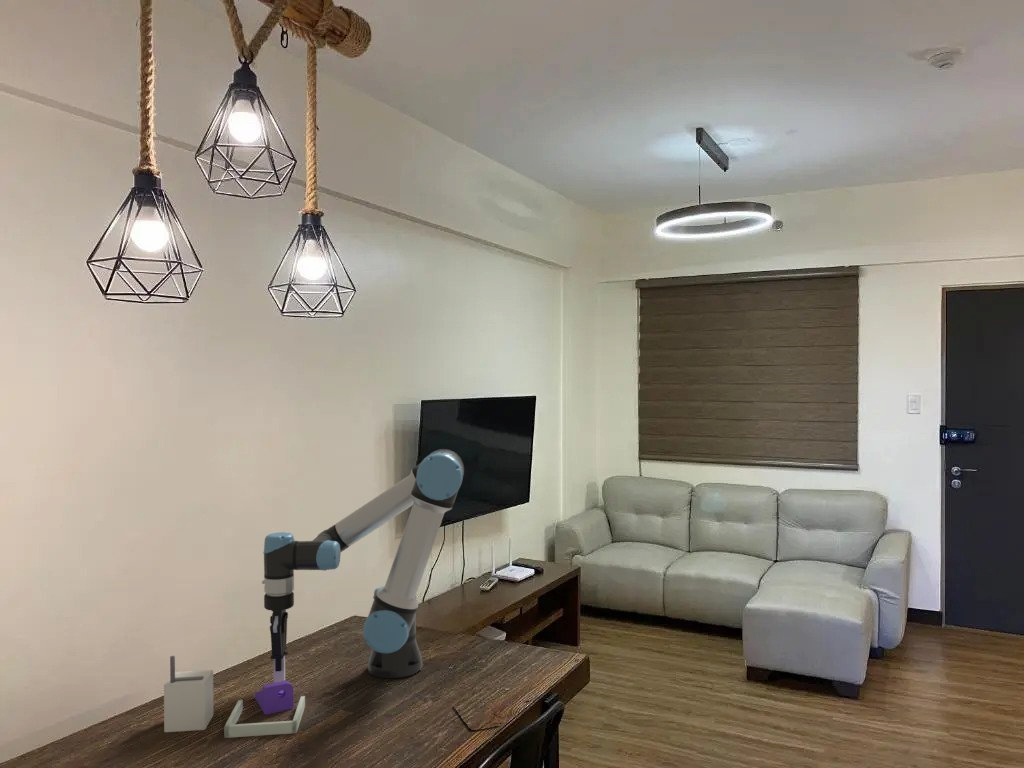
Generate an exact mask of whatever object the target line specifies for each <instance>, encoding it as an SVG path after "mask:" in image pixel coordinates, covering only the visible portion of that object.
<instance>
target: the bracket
mask: <svg viewBox="0 0 1024 768" xmlns="http://www.w3.org/2000/svg"><path fill="white" fill-rule="evenodd" d="M254 699H255V701H256V702H257V703H258V706H259V707H260V709H261V710H262V712H263V714H264V715H269V714H273V713H275V714H276V713H279V712H284V711H288V710H293V709H294V687H293V685H292V684H291V682H290V681H288V680H285V681H281V682H276V683H274V682H272V683H267V684H263V685H262V689H261V690H258V691H255V692H254Z"/></svg>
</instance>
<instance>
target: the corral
mask: <svg viewBox="0 0 1024 768" xmlns="http://www.w3.org/2000/svg"><path fill="white" fill-rule="evenodd" d="M243 702H244V700H243V699H238V700H237V702H236V704H235V706H234V708H233V710H232V711H231V714H230V716H229V717H228V719H227V721H226V723H225V724H224V726H223V727H224V729H223V731H224V734H223V735H224V737H223V738H224V739H227V738H228V739H230V738H241V737H243V738H244V737H258V736H259V737H260V736H272V735H288V734H297V733H298V730H299V726H300V724H301V720H302V717H303V714H304V711H305V708H306V695H301V696H300V699H299V701H298V704H297V707H296V710H295V713H294V716H293V719H292V720H285V721H265V722H253V723H252V722H251V723H238V720H239V718H240V716H241V715H242V712H243V711H244V710H243V709H244V706H243V705H244V703H243ZM237 723H238V724H237Z"/></svg>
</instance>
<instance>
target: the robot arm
mask: <svg viewBox="0 0 1024 768" xmlns="http://www.w3.org/2000/svg"><path fill="white" fill-rule="evenodd" d="M464 475H465V465H464V462H463V460H462V458H461V457H460V456H459V455H458V453H457V452H455V451H452V450H450V449H446V448H440V449H437V450H436V449H435V450H434V451H432V452H430V453H429V454H428V455H427V456H426V457H424V458H423V459H422V461H421V462H420V463H419V464H417V465H416V466H415V467H413V468H411V470H410V474H409V475H408V476H406V477H405V478H402V480H399V481H398V482H397V483H395V484H393V486H391V487H389V488H387V490H385V491H383V492H382V493H380V494H379V495H377V496H375V497H374V498H373V499H370V500H369V501H368V502H367V503H365V504H364V505H362V506H361V507H359V508H358V509H356V510H354V511H353V512H351V513H350V514H348V515H346V516H345V517H343V519H341V520H340V521H337V522H336V523H335V524H333V525H332V526H330V527H329V528H327V529H324V530H323V531H321V532H320V533H318V535H316V537H315V538H314V539H312V540H301V541H300V540H295V538H294V537H295V536H294V534H293V533H291V532H285V531H283V532H282V531H280V532H273V533H269V534H267V535H266V536H265V538H264V541H263V542H264V544H263V546H264V547H263V552H262V553H263V574H264V575H263V578H264V579H263V580H262V581H261V584H263V585H264V587H263V588H264V589H263V592H264V593H265V594H264V595H263V603H264V604H263V607H264V609H265V610H267V611H271V612H272V613H271V615H270V616H269V617H270V619H269V623H270V624H271V625H269V631H270V640H271V641H270V642H271V656H270V660H273V683H276V682H281V681H286V656H288V655H289V651H287V648H288V647H287V641H288V640H287V639H288V638H287V637H288V618H289V612H288V611H286V610H289V609H291V608H293V607H294V604H295V596H294V595H295V593H294V590H295V571H323V572H324V571H329V570H336V569H338V567H339V566H340V562H341V553H342V552H344V551H345V550H347V549H348V548H349V547H351V546H353V545H354V544H356V543H358V542H359V541H361V539H363V538H365V537H366V536H368V535H370V534H371V533H373V532H374V531H375V530H377V529H379V528H380V527H382V526H383V525H384V524H386V523H388V522H389V521H391V520H392V519H395V517H397V516H398V515H400V514H401V513H403V512H404V511H406V510H407V509H410V508H411V510H410V513H409V516H408V519H407V521H406V524H405V526H404V530H403V533H402V536H401V538H400V542H399V545H398V547H397V549H396V553H395V556H394V558H393V561H392V564H391V567H390V570H389V573H388V576H387V580H386V581H385V586H380V587H377V588H375V590H374V591H373V597H372V598H373V601H372V603H371V604H372V605H371V607H370V610H369V613H368V614H367V615H368V616H367V617H366V619H365V620H364V622H363V626H362V627H363V631H362V634H363V635H362V636H363V638H364V641H365V643H366V644H367V645H368V647H370V648H371V652H370V656H369V658H368V662H367V663H368V664H367V672H368V673H369V674H370V675H372V676H373V677H377V678H381V679H400V678H406V677H410V676H412V675H416V674H418V673H419V672H420V671H422V669H423V657H422V654H421V652H420V649H419V646H418V643H417V635H416V634H417V628H416V627H417V624H416V623H417V622H416V621H417V620H416V618H417V616H416V614H417V611H418V607H419V603H418V600H417V593H418V590H419V587H420V584H421V582H422V579H423V576H424V573H425V569H426V567H427V564H428V562H429V559H430V556H431V553H432V550H433V547H434V544H435V542H436V539H437V536H438V533H439V530H440V527H441V525H442V522H443V519H444V516H445V513H446V512H449V511H451V510H452V509H453V506H454V504H455V501H456V498H457V495H458V492H459V490H460V488H461V485H462V484H463V478H464ZM421 668H422V669H421ZM419 670H420V671H419ZM418 671H419V672H418ZM417 672H418V673H417ZM415 673H416V674H415Z"/></svg>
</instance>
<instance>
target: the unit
mask: <svg viewBox="0 0 1024 768" xmlns="http://www.w3.org/2000/svg"><path fill="white" fill-rule="evenodd" d="M169 658H170V659H169V660H170V661H169V662H170V663H169V664H170V665H169V668H170V669H169V670H170V671H169V672H170V674H169V675H170V677H169V678H167V679H168V680H167V681H166V682H165V683H164V684H163V707H164V708H163V720H164V722H163V726H164V727H163V728H164V731H163V732H164V733H176V732H189V731H190V732H192V731H205V730H206V729H207V726H208V725H209V723H210V722H211V720H212V718H213V716H214V670H213V669H208V670H207V669H206V670H204V669H203V670H191V671H187V670H185V671H176V655H171V656H170V657H169Z"/></svg>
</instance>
